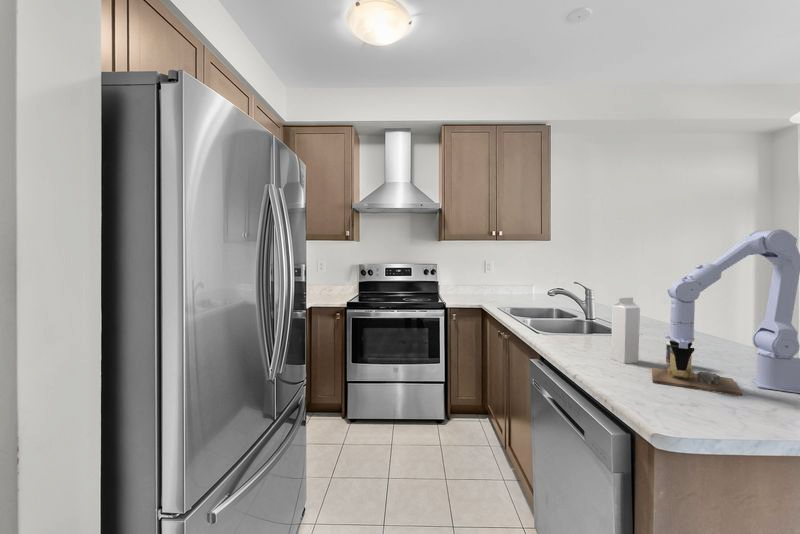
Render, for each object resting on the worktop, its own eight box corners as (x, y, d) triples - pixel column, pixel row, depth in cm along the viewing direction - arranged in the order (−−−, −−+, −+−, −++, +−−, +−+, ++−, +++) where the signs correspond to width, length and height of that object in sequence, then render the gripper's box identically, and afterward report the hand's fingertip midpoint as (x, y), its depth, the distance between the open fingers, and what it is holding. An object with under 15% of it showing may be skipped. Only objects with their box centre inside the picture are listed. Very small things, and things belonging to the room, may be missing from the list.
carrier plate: (732, 381, 118) (732, 368, 118) (741, 395, 107) (742, 381, 106) (651, 370, 129) (652, 358, 129) (652, 382, 117) (652, 369, 117)
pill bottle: (666, 361, 139) (667, 333, 138) (687, 364, 135) (688, 335, 135) (664, 365, 134) (665, 336, 134) (685, 368, 131) (686, 338, 130)
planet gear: (692, 373, 120) (692, 353, 120) (694, 378, 115) (694, 357, 115) (667, 369, 123) (667, 350, 123) (668, 375, 118) (668, 354, 118)
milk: (638, 362, 138) (641, 298, 137) (624, 363, 136) (626, 298, 135) (624, 357, 144) (626, 296, 142) (610, 359, 142) (612, 296, 141)
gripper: (664, 317, 127) (663, 359, 127) (666, 324, 114) (665, 371, 115) (692, 319, 123) (690, 363, 124) (697, 327, 111) (696, 375, 111)
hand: (680, 367), depth 119 cm, fingers closed on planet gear, 5 cm apart
